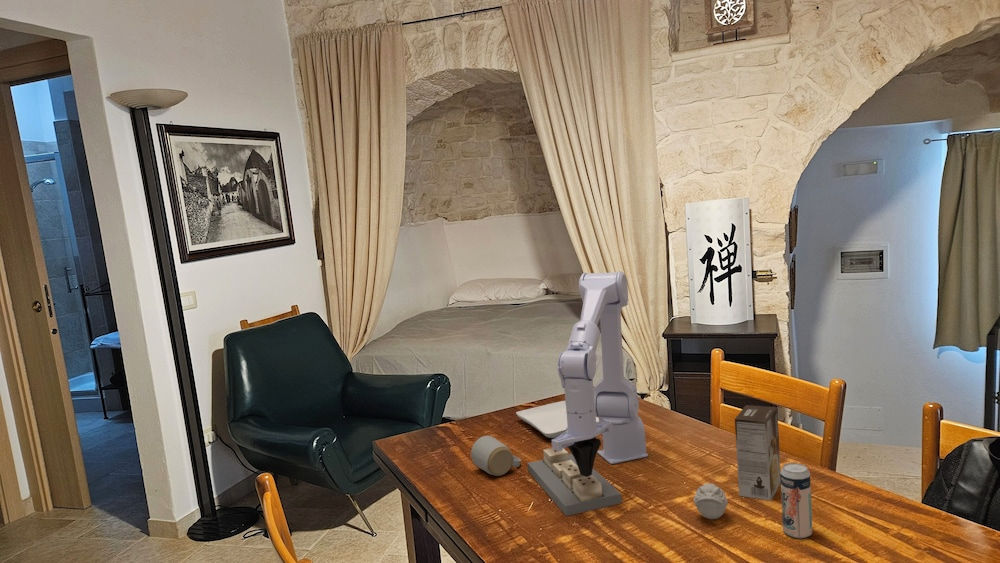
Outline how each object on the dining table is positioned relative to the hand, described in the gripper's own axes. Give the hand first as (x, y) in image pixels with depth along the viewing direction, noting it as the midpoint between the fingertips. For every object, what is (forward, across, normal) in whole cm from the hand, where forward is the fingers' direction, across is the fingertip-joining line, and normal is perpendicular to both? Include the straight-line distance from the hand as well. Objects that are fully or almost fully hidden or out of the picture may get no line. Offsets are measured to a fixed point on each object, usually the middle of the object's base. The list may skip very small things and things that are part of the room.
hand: (586, 474), depth 136 cm
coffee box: (+6, -28, +21) cm, 35 cm away
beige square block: (+5, 0, 0) cm, 5 cm away
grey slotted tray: (+6, -3, -8) cm, 11 cm away
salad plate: (+7, -28, -39) cm, 48 cm away
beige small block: (+5, -2, -6) cm, 8 cm away
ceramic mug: (+6, +2, -28) cm, 29 cm away
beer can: (+6, -17, +35) cm, 39 cm away
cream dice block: (+6, -4, -11) cm, 13 cm away
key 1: (+5, -6, -17) cm, 19 cm away
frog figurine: (+6, -12, +21) cm, 25 cm away
